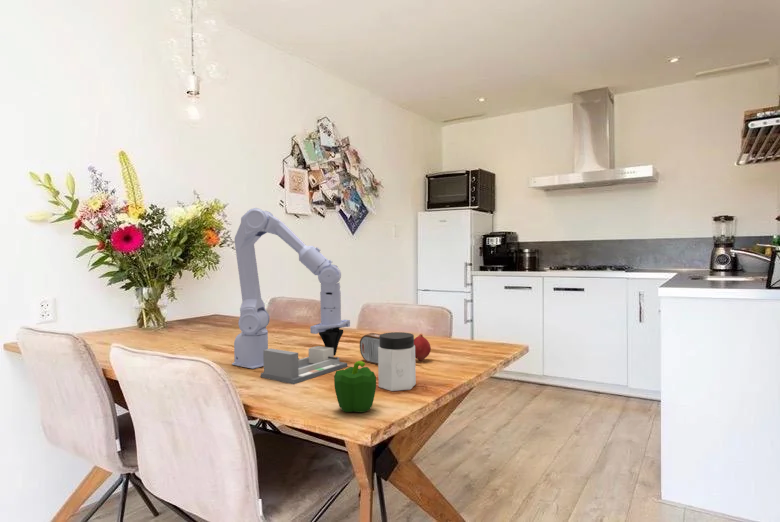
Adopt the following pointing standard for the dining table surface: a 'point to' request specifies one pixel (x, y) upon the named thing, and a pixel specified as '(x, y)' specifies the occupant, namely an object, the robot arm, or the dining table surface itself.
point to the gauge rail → (295, 366)
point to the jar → (396, 361)
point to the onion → (421, 347)
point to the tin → (370, 347)
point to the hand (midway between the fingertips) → (331, 355)
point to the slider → (320, 354)
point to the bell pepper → (355, 388)
